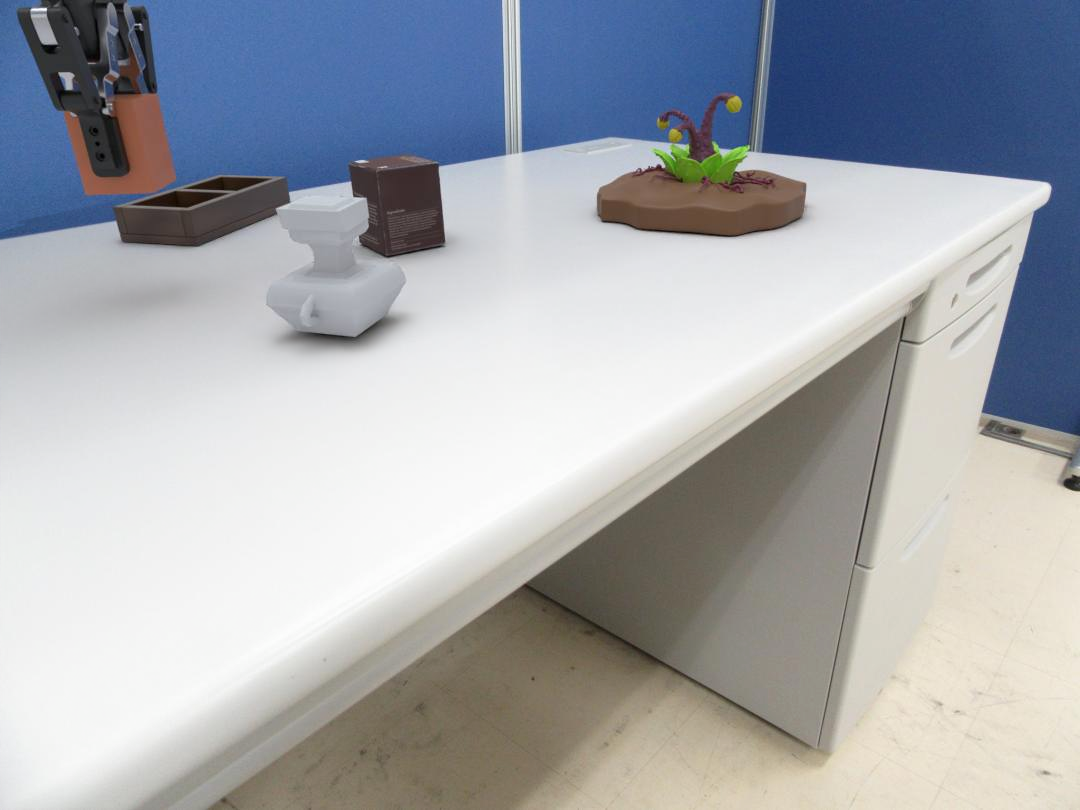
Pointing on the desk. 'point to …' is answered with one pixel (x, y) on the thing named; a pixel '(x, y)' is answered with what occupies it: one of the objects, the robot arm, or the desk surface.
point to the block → (130, 148)
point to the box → (400, 202)
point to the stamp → (333, 270)
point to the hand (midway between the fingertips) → (127, 167)
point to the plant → (701, 187)
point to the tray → (201, 209)
